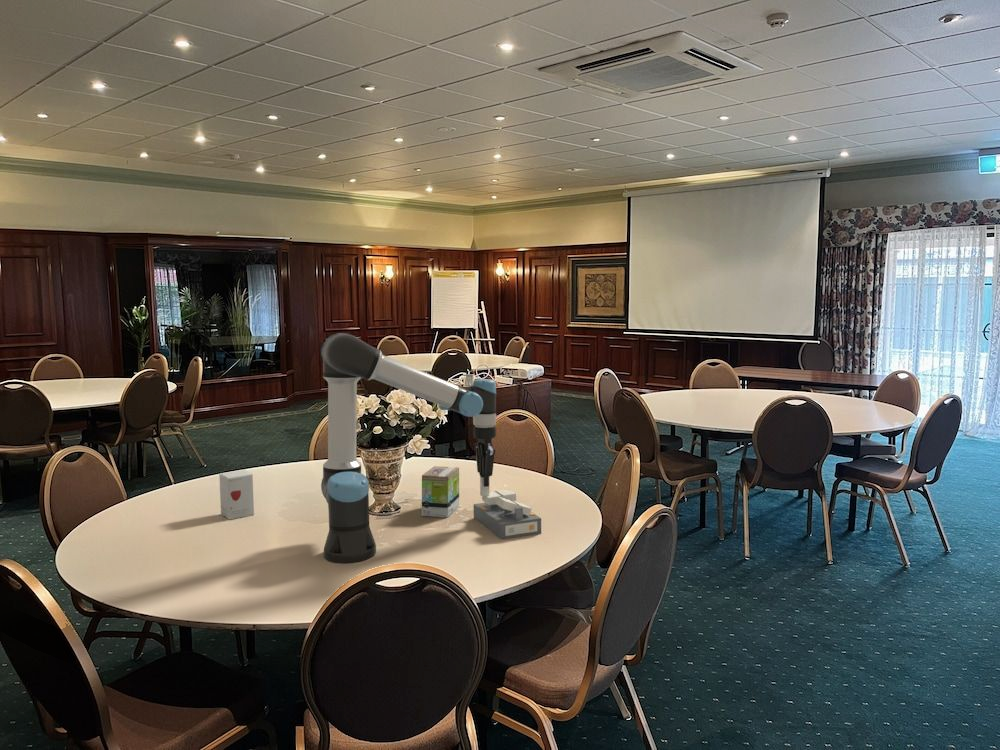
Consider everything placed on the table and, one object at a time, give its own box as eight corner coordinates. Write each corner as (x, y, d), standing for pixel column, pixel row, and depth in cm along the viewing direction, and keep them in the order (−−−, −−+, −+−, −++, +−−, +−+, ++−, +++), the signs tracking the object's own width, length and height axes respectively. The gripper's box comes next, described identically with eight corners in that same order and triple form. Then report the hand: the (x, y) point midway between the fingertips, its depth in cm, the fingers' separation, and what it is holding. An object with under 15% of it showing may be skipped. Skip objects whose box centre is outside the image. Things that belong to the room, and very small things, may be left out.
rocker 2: (502, 508, 219) (505, 500, 219) (495, 503, 225) (497, 496, 225) (529, 516, 223) (531, 508, 223) (521, 511, 228) (524, 503, 229)
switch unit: (501, 539, 216) (501, 512, 215) (473, 518, 238) (473, 493, 238) (541, 533, 222) (541, 506, 221) (511, 513, 244) (510, 488, 243)
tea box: (449, 518, 239) (448, 476, 238) (421, 516, 241) (420, 475, 240) (460, 505, 254) (459, 466, 252) (433, 504, 256) (433, 465, 254)
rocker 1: (488, 504, 230) (488, 497, 230) (482, 500, 236) (481, 492, 236) (516, 500, 234) (516, 493, 234) (509, 496, 240) (508, 488, 239)
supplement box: (228, 520, 239) (226, 477, 238) (220, 514, 246) (218, 473, 244) (255, 515, 245) (253, 473, 243) (246, 509, 252) (244, 469, 250)
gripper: (502, 428, 226) (502, 498, 228) (487, 422, 238) (487, 489, 240) (481, 429, 223) (481, 501, 225) (467, 423, 235) (467, 491, 237)
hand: (484, 495), depth 233 cm, fingers closed
